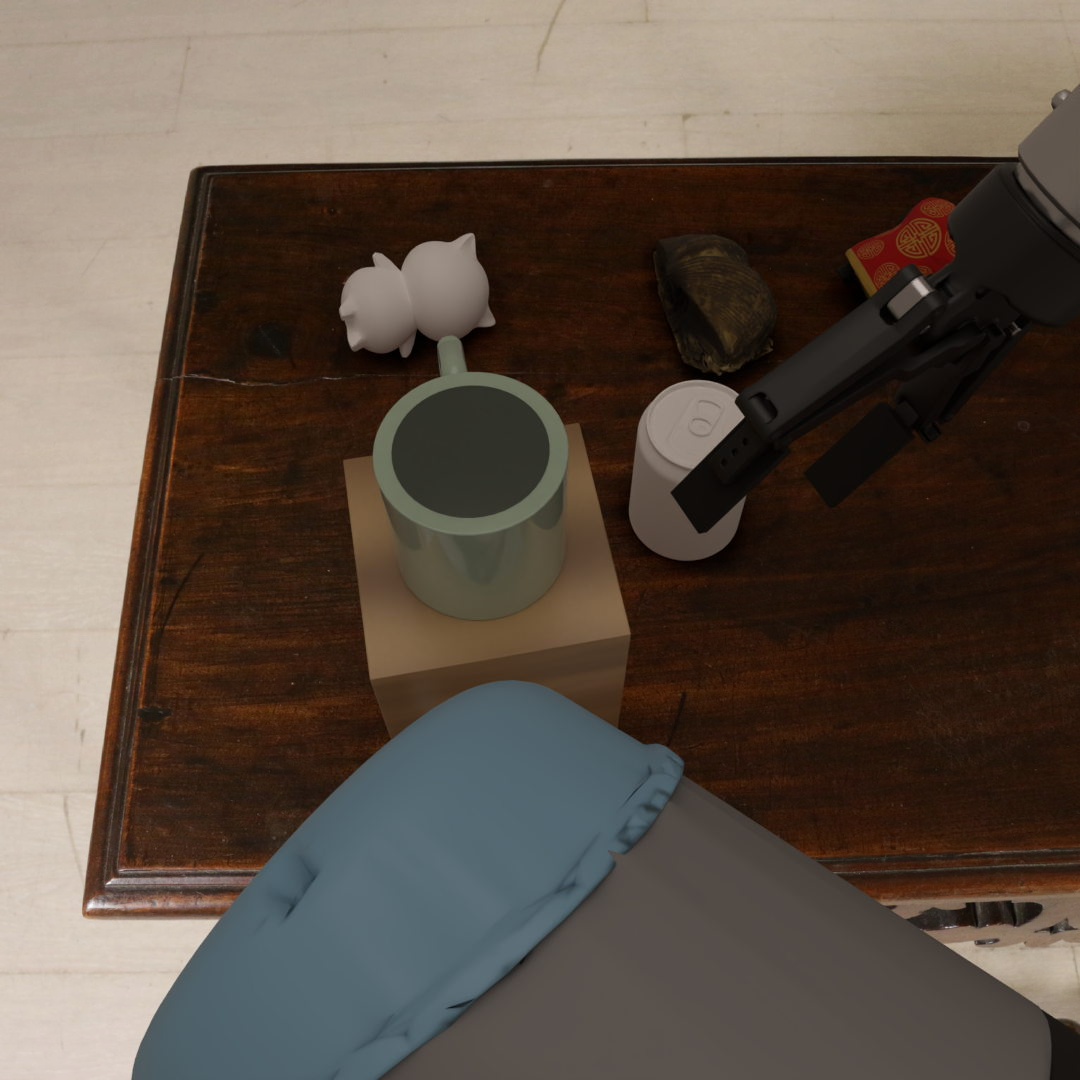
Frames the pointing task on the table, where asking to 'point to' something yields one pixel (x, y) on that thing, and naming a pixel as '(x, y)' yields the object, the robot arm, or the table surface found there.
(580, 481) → the plinth
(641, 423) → the beverage can
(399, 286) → the cat figurine
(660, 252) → the seashell
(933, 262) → the figurine
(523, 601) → the mug
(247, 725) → the table surface
